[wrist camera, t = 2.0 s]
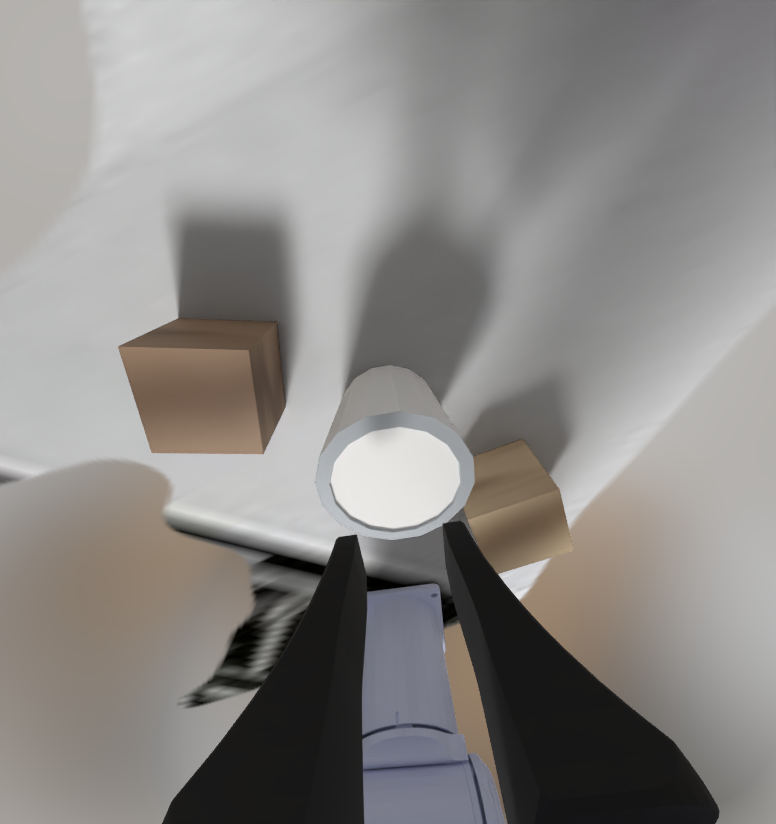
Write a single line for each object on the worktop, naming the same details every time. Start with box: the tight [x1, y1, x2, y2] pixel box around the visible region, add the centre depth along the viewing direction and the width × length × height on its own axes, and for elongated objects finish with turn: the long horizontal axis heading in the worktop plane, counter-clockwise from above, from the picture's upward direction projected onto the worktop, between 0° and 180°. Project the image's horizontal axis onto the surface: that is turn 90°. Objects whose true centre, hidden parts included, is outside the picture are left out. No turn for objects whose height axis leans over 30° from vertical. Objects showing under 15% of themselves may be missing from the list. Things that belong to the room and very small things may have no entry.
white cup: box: [315, 365, 475, 540], centre depth 18 cm, size 7×7×7 cm
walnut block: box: [118, 318, 286, 454], centre depth 17 cm, size 5×5×5 cm
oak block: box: [463, 439, 573, 574], centre depth 22 cm, size 5×5×5 cm
